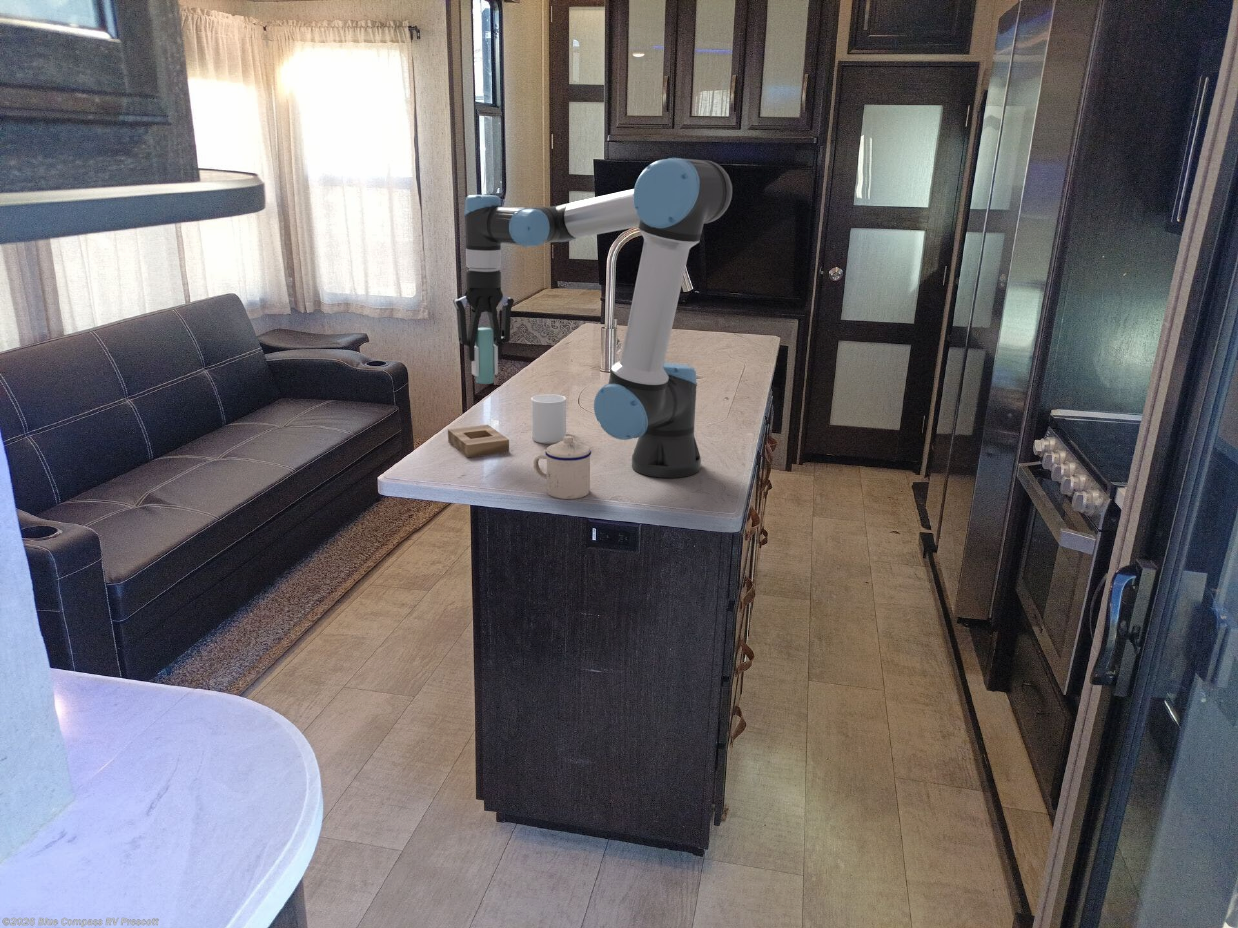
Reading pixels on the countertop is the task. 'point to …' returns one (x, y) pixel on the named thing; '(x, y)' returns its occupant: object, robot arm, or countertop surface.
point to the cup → (548, 418)
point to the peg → (485, 355)
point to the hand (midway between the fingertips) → (484, 373)
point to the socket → (478, 441)
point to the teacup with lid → (566, 469)
